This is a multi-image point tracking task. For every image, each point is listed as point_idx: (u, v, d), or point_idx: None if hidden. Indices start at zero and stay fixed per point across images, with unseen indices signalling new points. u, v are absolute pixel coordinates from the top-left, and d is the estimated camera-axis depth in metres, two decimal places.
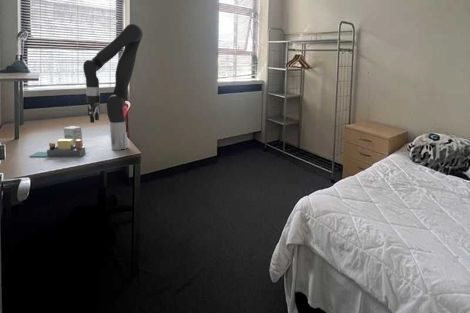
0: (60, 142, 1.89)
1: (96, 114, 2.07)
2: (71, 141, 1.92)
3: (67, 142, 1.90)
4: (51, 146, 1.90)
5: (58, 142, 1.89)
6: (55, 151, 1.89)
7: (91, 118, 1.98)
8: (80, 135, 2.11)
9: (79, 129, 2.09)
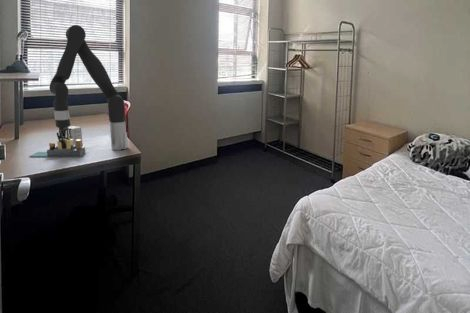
0: (60, 142, 1.89)
1: None
2: (71, 141, 1.92)
3: (67, 142, 1.90)
4: (51, 146, 1.90)
5: (58, 142, 1.89)
6: (55, 151, 1.89)
7: (62, 144, 1.88)
8: (80, 135, 2.11)
9: (79, 129, 2.09)
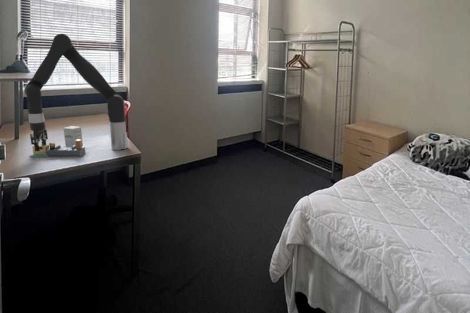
0: None
1: (43, 141, 1.94)
2: (47, 147, 1.92)
3: (42, 148, 1.89)
4: (51, 146, 1.90)
5: (33, 148, 1.89)
6: (55, 151, 1.89)
7: (35, 147, 1.86)
8: (80, 135, 2.11)
9: (79, 129, 2.09)
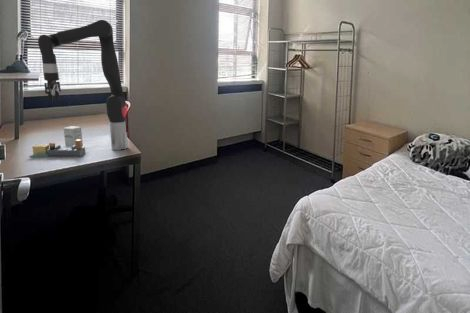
0: (35, 147, 1.89)
1: (56, 93, 1.98)
2: (47, 147, 1.92)
3: (42, 148, 1.89)
4: (51, 146, 1.90)
5: (33, 148, 1.89)
6: (55, 151, 1.89)
7: (49, 96, 1.89)
8: (80, 135, 2.11)
9: (79, 129, 2.09)
